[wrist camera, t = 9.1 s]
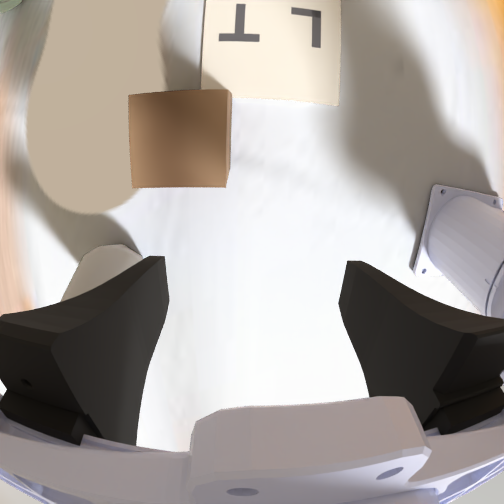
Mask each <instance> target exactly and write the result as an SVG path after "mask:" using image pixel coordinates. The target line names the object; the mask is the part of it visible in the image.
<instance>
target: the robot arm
mask: <svg viewBox="0 0 504 504" xmlns="http://www.w3.org/2000/svg"><path fill="white" fill-rule="evenodd" d="M442 189H443V192H442V194H441V190H442ZM493 201H494V202H493ZM502 207H503V199H502V198H500V197H496V196H492V195H487V194H483V193H479V192H474V191H469V190H464V189H459V188H454V187H449V186H444V185H438V184H436V185H434V186H433V187H432V191H431V196H430V202H429V207H428V212H427V216H426V221H425V226H424V230H423V234H422V238H421V242H420V246H419V250H418V254H417V258H416V261H415V265H414V268H413V273H414V274H415V275H416V276H445V277H446V278H447V279H448V280H449V281H450V282H451V283H452V284H453V285H454V286H455V287H456V288H457V289H458V290H459V291H460V292H461V293H462V294H463V295H464V296H465V297H466V298H467V299H468V300H469V301H470V302H471V304H472V305H473V306H474V307H475V308H476V309H477V310H478V311H479V312H480V313H481V314H482V315H479V314H475V313H471V312H467V311H464V310H460V309H457V308H454V307H451V306H448V305H446V304H443V303H440V302H438V301H436V300H433V299H431V298H429V297H427V296H424V295H422V294H420V293H418V292H416V291H414V290H413V289H411V288H409V287H407V286H405V285H403V284H402V283H400V282H398V281H397V280H395V279H393V278H392V277H390V276H388V275H386V274H385V273H383V272H381V271H380V270H378V269H376V268H375V267H373V266H371V265H369V264H367V263H365V262H362V261H347V265H346V270H345V275H344V280H343V284H342V289H341V294H340V298H339V303H338V304H339V308H340V312H341V316H342V320H343V323H344V326H345V328H346V330H347V333H348V335H349V338H350V340H351V342H352V345H353V347H354V349H355V352H356V354H357V357H358V359H359V361H360V364H361V367H362V370H363V373H364V376H365V380H366V384H367V388H368V392H369V397H370V398H363V399H355V400H347V401H338V402H327V403H315V404H300V405H276V406H244V407H236V408H228V409H220V410H218V411H216V412H214V413H212V414H210V415H208V416H206V417H204V418H202V419H200V420H198V421H196V423H195V426H194V429H193V432H192V434H191V442H190V451H188V452H171V451H164V450H157V449H150V448H144V447H138V446H136V440H137V429H138V421H139V413H140V407H141V400H142V394H143V389H144V384H145V379H146V375H147V370H148V367H149V364H150V361H151V358H152V355H153V352H154V350H155V347H156V344H157V341H158V339H159V336H160V333H161V330H162V328H163V325H164V322H165V319H166V314H167V310H168V305H169V292H168V284H167V275H166V265H165V256H149V257H146V258H144V259H143V260H141V261H139V262H138V263H136V264H134V265H133V266H131V267H130V268H128V269H126V270H125V271H123V272H122V273H120V274H118V275H117V276H115V277H113V278H111V279H110V280H108V281H106V282H105V283H103V284H101V285H99V286H97V287H95V288H93V289H91V290H89V291H87V292H85V293H83V294H80V295H78V296H76V297H73V298H70V299H67V300H65V301H62V302H59V303H56V304H53V305H49V306H46V307H42V308H38V309H34V310H29V311H23V312H17V313H10V314H3V315H2V316H1V317H0V379H1V381H2V382H3V384H4V386H5V387H6V389H7V390H6V392H5V394H4V396H2V395H1V394H0V479H1V480H3V481H4V482H6V483H7V484H9V485H11V486H13V487H14V488H16V489H18V490H19V491H21V492H23V493H25V494H27V495H29V496H30V497H32V498H34V499H36V500H38V501H40V502H42V503H44V504H448V503H449V502H452V501H454V500H455V499H457V498H459V497H461V496H463V495H465V494H466V493H468V492H470V491H472V490H474V489H475V488H477V487H479V486H480V485H482V484H484V483H485V482H487V481H488V480H490V479H492V478H493V477H495V476H496V475H498V474H499V473H501V472H502V471H504V392H503V391H502V389H501V388H500V387H501V386H502V385H503V386H504V211H503V210H502ZM423 269H424V270H423ZM422 270H423V271H422Z"/></svg>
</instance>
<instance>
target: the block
mask: <svg viewBox="0 0 504 504" xmlns="http://www.w3.org/2000/svg"><path fill="white" fill-rule="evenodd" d="M231 116H232V93H231V92H230V91H229V90H228V89H205V90H180V91H164V92H153V93H143V94H135V95H129V142H130V162H131V176H132V188H160V187H224V188H226V183H227V179H228V175H229V170H230V152H231Z"/></svg>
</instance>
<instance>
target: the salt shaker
mask: <svg viewBox="0 0 504 504" xmlns="http://www.w3.org/2000/svg"><path fill="white" fill-rule="evenodd" d="M141 260H143V258H142V256H141V255H139V254H138V253H136V252H135V251H133V250H131V249H130V248H128V247H127V246H125V245H124V244H117V245H106V246H98V247H96V248H95V249H93V250H92V251H90V252H89V253H87V254H86V255H84V256H83V258H82V260H81V262H80V263H79V265H78V267H77V269H76V271H75V273H74V275H73V277H72V279H71V281H70V283H69V285H68V287H67V289H66V291H65V293H64V295H63V297H62V300H61V302H62V301H65V300H67V299H70V298H73V297H76V296H78V295H80V294H83V293H85V292H87V291H89V290H91V289H93V288H95V287H97V286H99V285H101V284H103V283H105V282H106V281H108V280H110V279H111V278H113V277H115V276H117V275H118V274H120V273H122V272H123V271H125V270H126V269H128V268H130V267H131V266H133V265H134V264H136V263H138V262H139V261H141Z"/></svg>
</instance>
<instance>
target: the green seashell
mask: <svg viewBox="0 0 504 504" xmlns="http://www.w3.org/2000/svg"><path fill="white" fill-rule="evenodd" d="M21 2H22V0H0V13H4V12H6V11H8V10H11V9H13V8H14V7H16V6H17V5H18V4H20V3H21Z"/></svg>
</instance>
